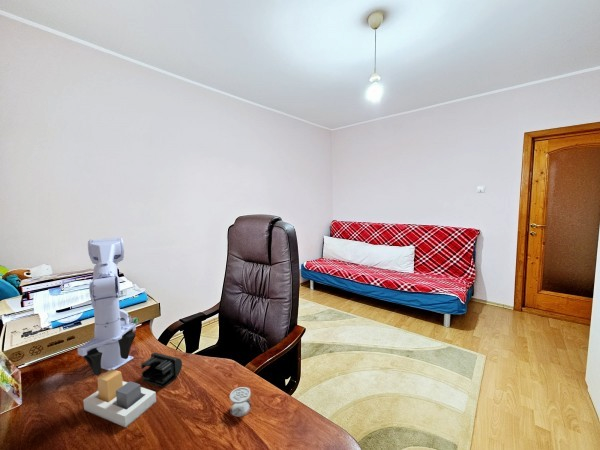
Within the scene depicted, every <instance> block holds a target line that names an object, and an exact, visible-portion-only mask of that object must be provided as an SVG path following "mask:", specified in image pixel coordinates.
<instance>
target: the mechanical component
mask: <svg viewBox="0 0 600 450" xmlns="http://www.w3.org/2000/svg"><path fill="white" fill-rule="evenodd" d="M120 318H123V317H120ZM128 318H129V324H130V323H133V324H136V326H137V325H139V318H138V317H132V316H131V315H129V314H128Z"/></svg>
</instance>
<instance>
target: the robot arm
mask: <svg viewBox="0 0 600 450" xmlns="http://www.w3.org/2000/svg"><path fill="white" fill-rule="evenodd" d="M124 248H125V247H124V238H122V236H121V237H112V238H111V237H110V238H98V239H89V241H88V242H87V250H88V251H87V252H88V256H89V259H90V262H91V263H92V265H94V267H93V272H92V273H93V274H92V281H90V282H89V285H88V286H89V287H88V288H89V290H88V291H89V298H90V301H91V305H92V306H91V307H92V309H93V315H94V329H93V330H94V331H93V332H94V337H93V338H92V339H91V340H89V341H87V342H86V343H84V344H83V345H81V346H79V347H77V355H78V356H80V357H82V358H83V359H84V360H85V361H86V362H87V364H89V367H90V369H91V371H92V373H93V375H94V376H97V377H99V376H101V375H102V369H103V370H105V371H109V370H111V369H114V370H117V369H118V368H120V367H122V366H123V365H125V364H126V363H128V362H131V361H132V360H134V358H135V357H134V356H131V355H130V350H131V347H132V344H133V341H134V340H135V338H136V335H137V334H136V332H135V331H136V330H137V327H136V326H137V325H136V324H133V323H130V324H129V318H128V315H129V313H128V311H125V310H124V309H121V308H120V299H119V297H120V294H121V287H120V286H121V285H120V278H119V276H118V264H119V263H121V262H123V261H124V258H125V249H124ZM120 317H123V318H120Z"/></svg>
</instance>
